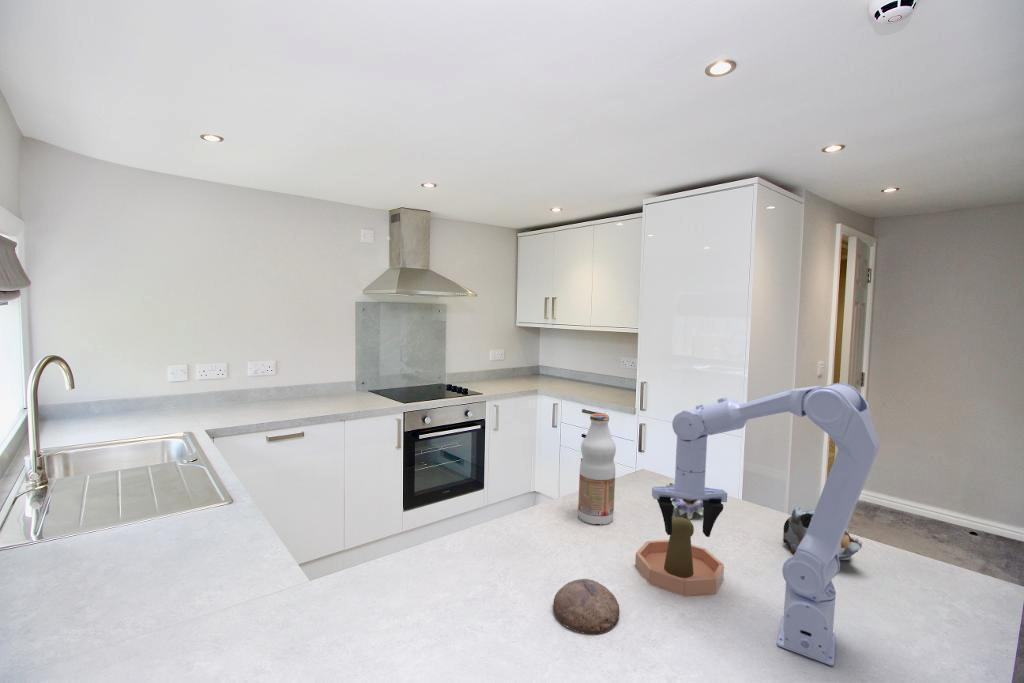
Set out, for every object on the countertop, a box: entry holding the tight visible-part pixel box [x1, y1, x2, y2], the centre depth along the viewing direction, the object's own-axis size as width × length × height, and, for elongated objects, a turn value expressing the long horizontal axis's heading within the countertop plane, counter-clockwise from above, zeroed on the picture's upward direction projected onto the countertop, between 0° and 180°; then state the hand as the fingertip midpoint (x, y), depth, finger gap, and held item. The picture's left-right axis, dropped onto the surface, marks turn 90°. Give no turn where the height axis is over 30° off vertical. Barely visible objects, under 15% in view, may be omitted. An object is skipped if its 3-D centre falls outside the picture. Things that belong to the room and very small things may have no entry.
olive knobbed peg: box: [664, 516, 695, 578], centre depth 102 cm, size 6×6×11 cm
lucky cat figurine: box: [782, 507, 863, 561], centre depth 110 cm, size 15×12×14 cm
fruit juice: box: [577, 413, 617, 525], centre depth 128 cm, size 9×9×28 cm
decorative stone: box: [553, 578, 620, 635], centre depth 88 cm, size 12×12×6 cm
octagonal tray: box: [634, 539, 725, 597], centre depth 103 cm, size 17×17×3 cm
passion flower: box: [666, 482, 704, 521], centre depth 134 cm, size 11×11×12 cm
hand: (687, 533), depth 98 cm, fingers open, 7 cm apart
